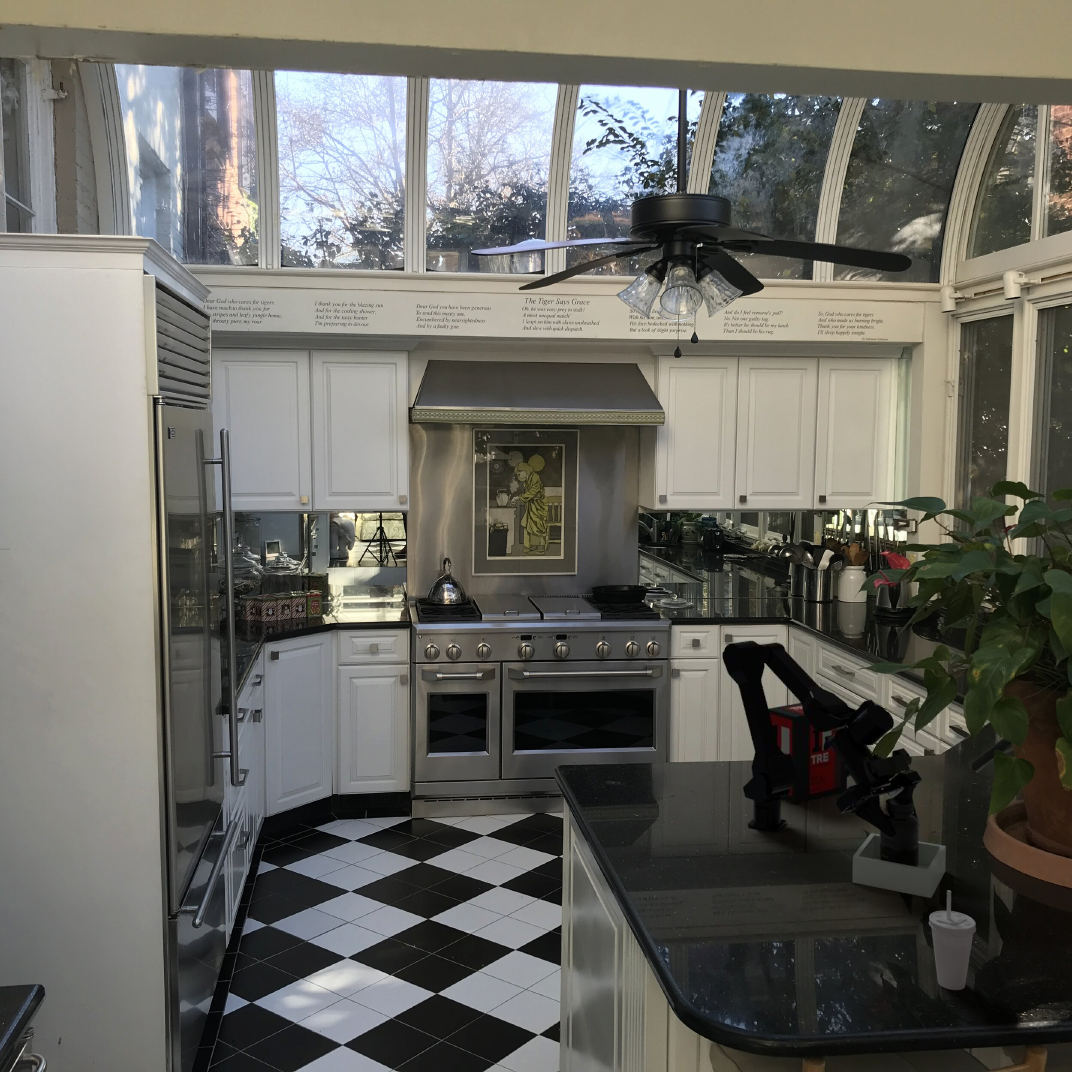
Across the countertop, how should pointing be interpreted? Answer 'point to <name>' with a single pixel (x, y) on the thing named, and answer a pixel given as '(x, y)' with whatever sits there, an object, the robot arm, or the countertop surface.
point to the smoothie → (951, 945)
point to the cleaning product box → (807, 756)
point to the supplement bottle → (900, 834)
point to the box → (899, 869)
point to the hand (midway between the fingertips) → (905, 832)
